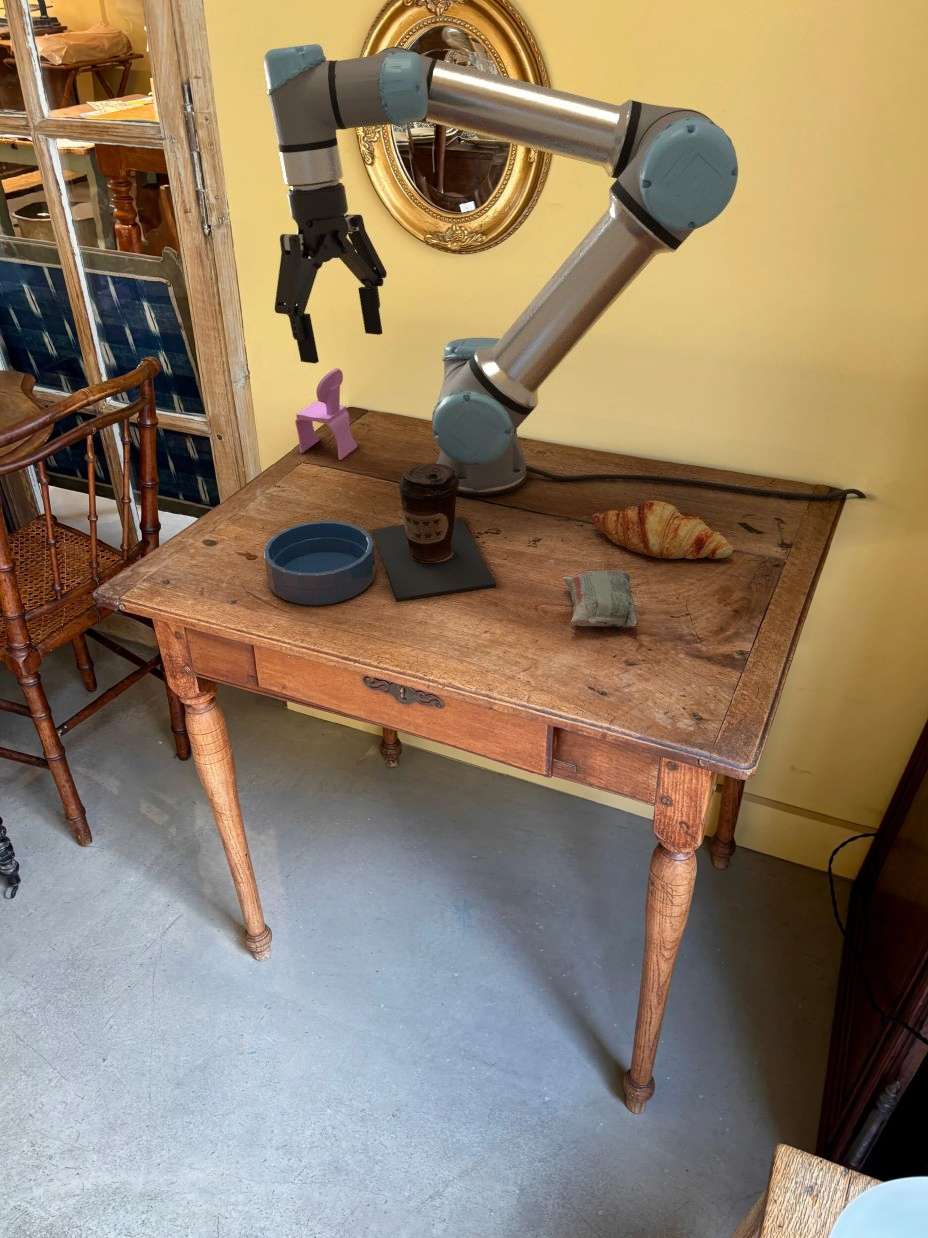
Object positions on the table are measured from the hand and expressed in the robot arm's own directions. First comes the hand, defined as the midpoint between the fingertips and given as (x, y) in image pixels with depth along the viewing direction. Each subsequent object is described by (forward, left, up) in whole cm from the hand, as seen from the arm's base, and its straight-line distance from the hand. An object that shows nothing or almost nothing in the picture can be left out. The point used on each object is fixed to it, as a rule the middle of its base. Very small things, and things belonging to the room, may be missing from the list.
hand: (343, 347), depth 133 cm
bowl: (+8, +18, -27) cm, 33 cm away
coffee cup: (-8, +16, -26) cm, 32 cm away
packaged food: (-26, +37, -27) cm, 52 cm away
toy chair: (+2, -26, -27) cm, 37 cm away
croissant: (-41, +23, -27) cm, 54 cm away
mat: (-8, +17, -27) cm, 32 cm away
